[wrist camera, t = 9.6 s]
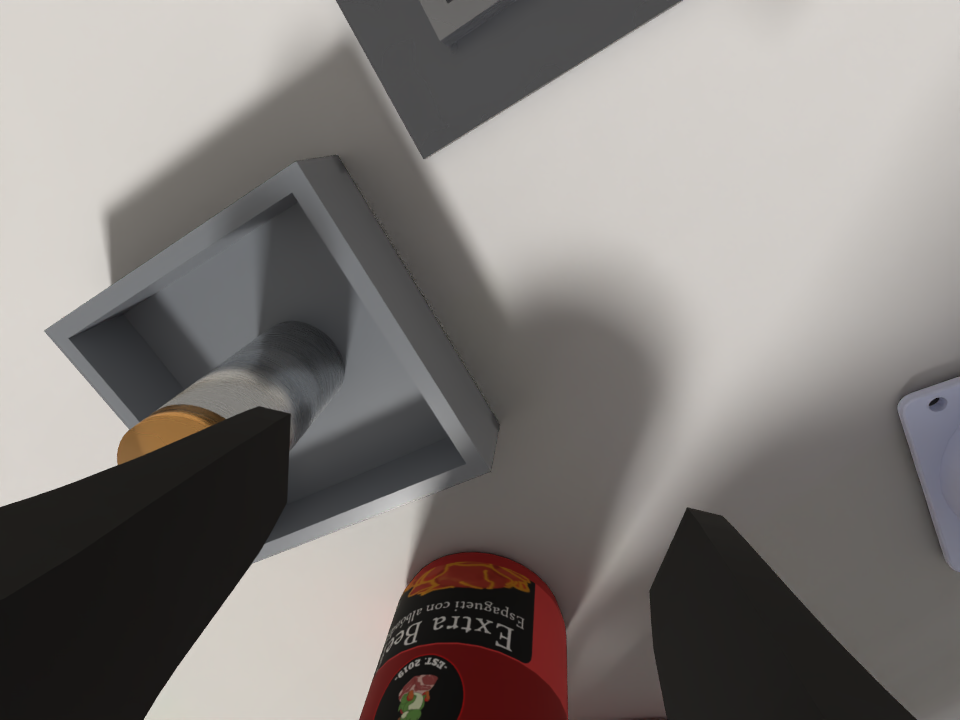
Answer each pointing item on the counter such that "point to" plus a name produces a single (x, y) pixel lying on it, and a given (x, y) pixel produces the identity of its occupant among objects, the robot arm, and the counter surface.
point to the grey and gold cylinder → (250, 388)
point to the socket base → (481, 53)
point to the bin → (308, 299)
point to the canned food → (473, 646)
